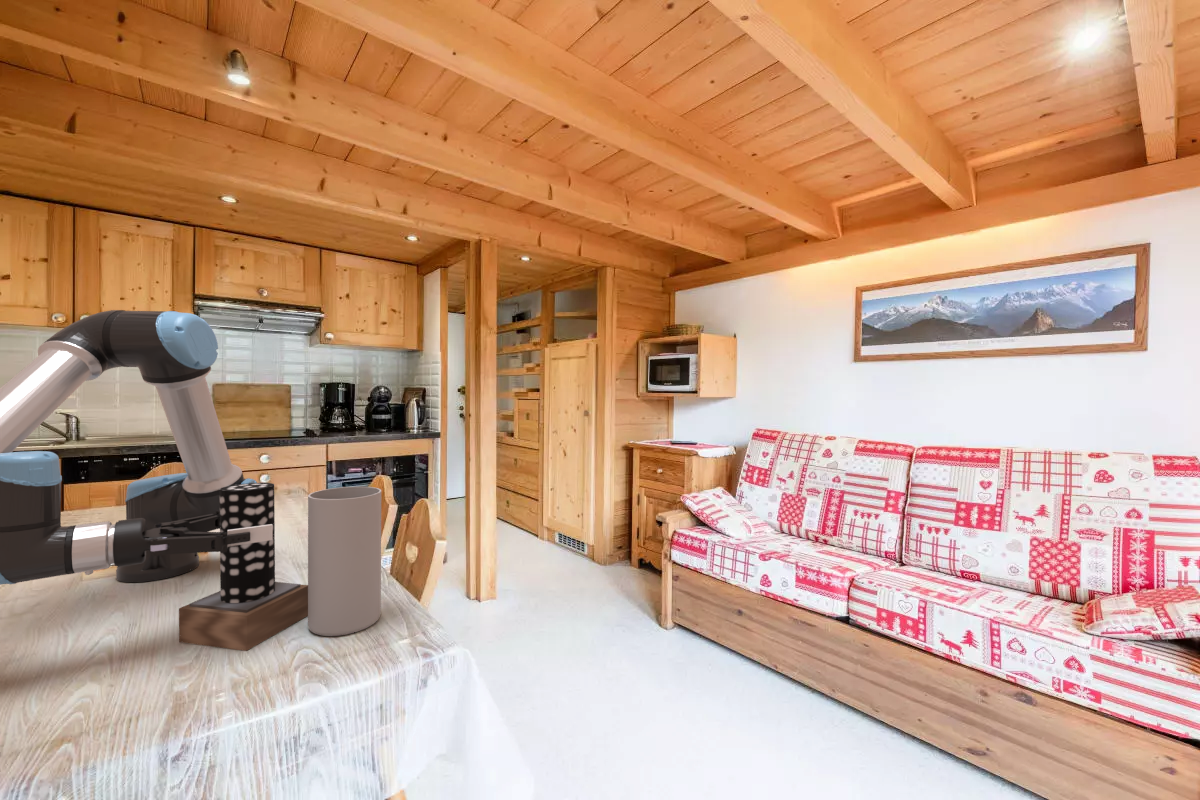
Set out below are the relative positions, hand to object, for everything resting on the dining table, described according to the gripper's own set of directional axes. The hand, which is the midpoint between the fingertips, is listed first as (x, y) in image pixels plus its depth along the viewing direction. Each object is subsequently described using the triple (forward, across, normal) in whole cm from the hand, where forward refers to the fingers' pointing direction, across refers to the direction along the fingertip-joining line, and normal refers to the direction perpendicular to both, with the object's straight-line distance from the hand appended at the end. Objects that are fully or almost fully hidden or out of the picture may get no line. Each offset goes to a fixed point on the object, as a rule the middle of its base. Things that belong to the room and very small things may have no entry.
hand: (268, 523), depth 96 cm
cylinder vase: (+12, +8, -19) cm, 24 cm away
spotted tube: (-3, +1, -13) cm, 13 cm away
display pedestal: (-3, 0, -19) cm, 19 cm away
